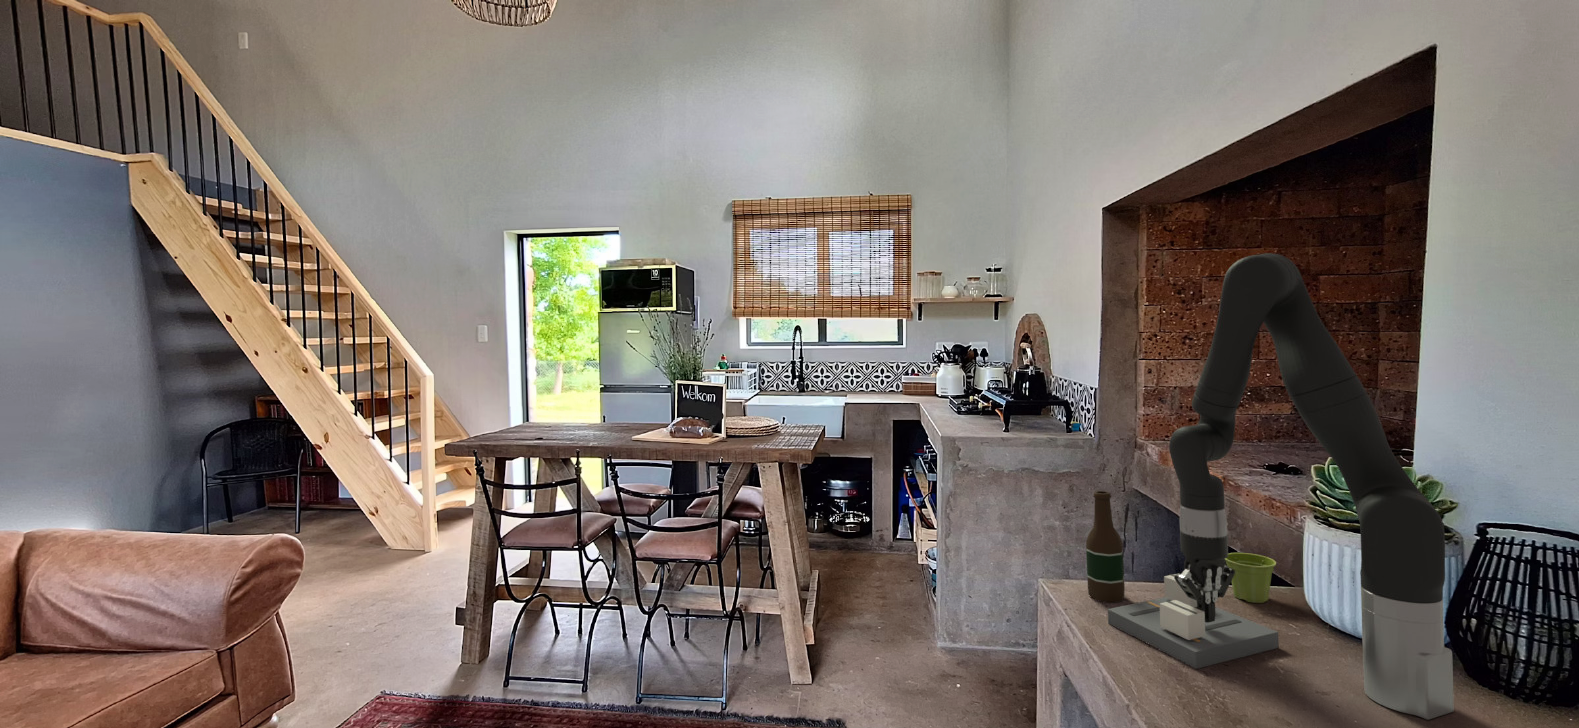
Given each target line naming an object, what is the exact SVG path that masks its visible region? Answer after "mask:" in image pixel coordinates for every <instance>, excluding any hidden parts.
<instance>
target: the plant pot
mask: <svg viewBox="0 0 1579 728" xmlns="http://www.w3.org/2000/svg"><path fill="white" fill-rule="evenodd" d="M1224 560H1225V564H1226V566H1227V567H1229V568H1231V569H1234V570H1235V575H1234V577H1233V579H1232V581H1231V586H1232V590H1233V596H1234V597H1235V598H1236V599H1239V600H1245V601H1246V602H1248V603H1252V604H1253V603H1254V604H1255V603H1258V604H1263V603H1265V602H1269V599H1270V598H1269V596H1270V589H1271V583H1272V582H1271V581H1272V574H1273V572H1274V568H1275V567H1276V566H1277V562H1276V560H1274V559H1273V558H1270V557H1268V556H1264V555H1262V554H1261V555H1260V554H1255V553H1247V552H1230V553H1229V552H1228V557H1227V558H1225V559H1224Z"/></svg>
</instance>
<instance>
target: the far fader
mask: <svg viewBox="0 0 1579 728" xmlns="http://www.w3.org/2000/svg"><path fill="white" fill-rule="evenodd" d="M1176 574H1177V573H1175V574H1173V573H1171V574H1169V575H1165V576H1163V583H1164V585H1163V586H1164V588H1163V589H1164V597H1165V598H1167V599H1170V600H1172V601H1173V600H1177V601H1180V602H1182V603H1184V604H1187V605H1189V606H1192V607H1197V601H1196V600H1194V599H1192V598H1189V597H1188V596H1187V595H1186V594H1185V592H1184V591H1183V590H1182V588H1181V587H1180V586H1179V584H1178V583H1177V582H1176V580H1175V579H1174V576H1175V575H1176ZM1178 574H1179V575H1181V574H1182V573H1178Z"/></svg>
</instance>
